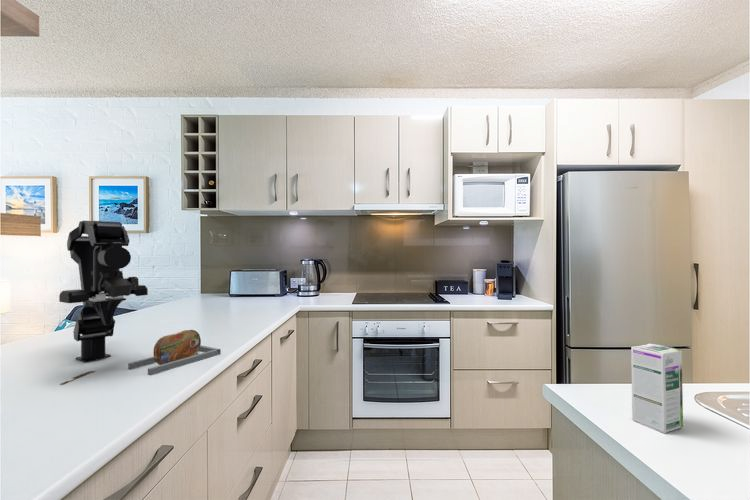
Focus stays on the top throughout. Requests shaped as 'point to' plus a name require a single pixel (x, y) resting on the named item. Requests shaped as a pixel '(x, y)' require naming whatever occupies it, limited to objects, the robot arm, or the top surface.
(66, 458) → the top surface
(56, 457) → the top surface
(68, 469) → the top surface
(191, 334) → the tin
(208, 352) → the slate corral
